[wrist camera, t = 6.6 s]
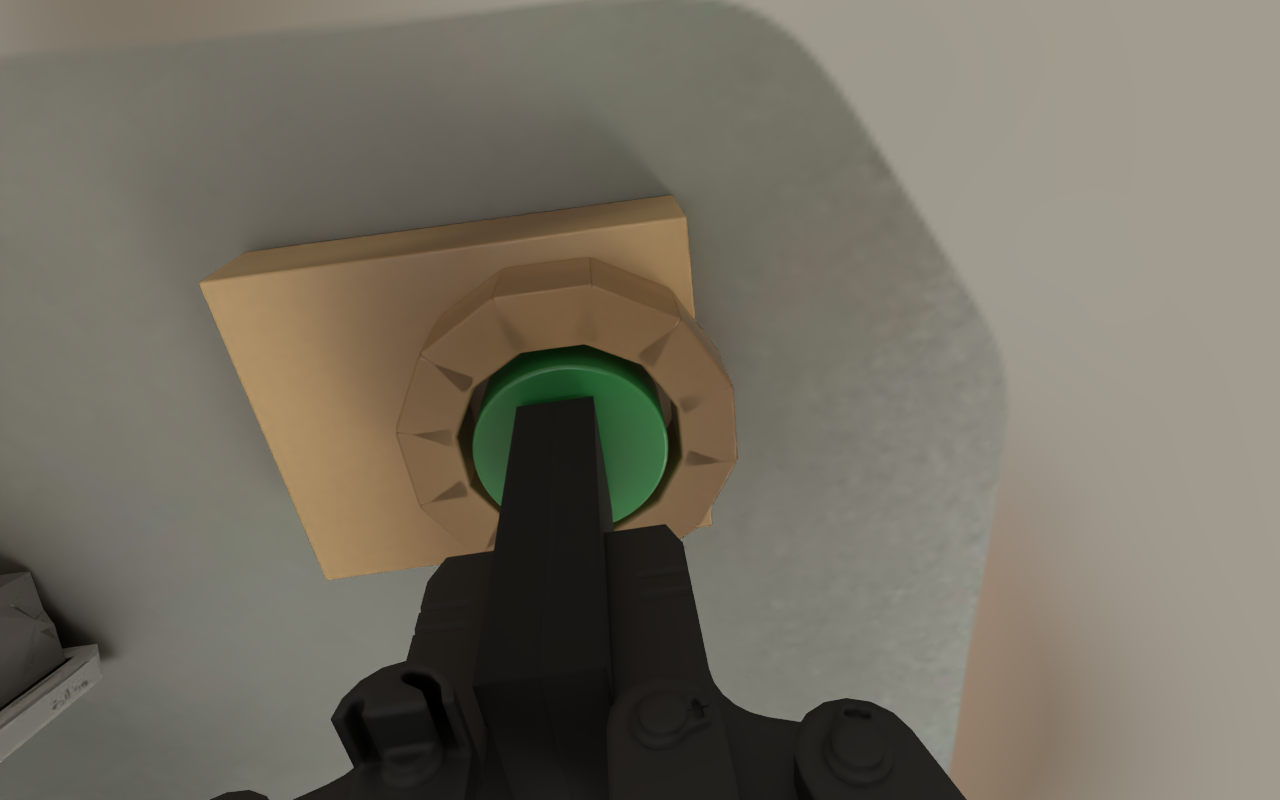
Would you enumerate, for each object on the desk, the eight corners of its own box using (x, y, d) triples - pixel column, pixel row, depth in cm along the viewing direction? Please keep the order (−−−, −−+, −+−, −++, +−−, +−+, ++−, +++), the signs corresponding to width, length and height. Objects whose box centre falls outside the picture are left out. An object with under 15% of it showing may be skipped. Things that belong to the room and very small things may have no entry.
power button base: (693, 191, 16) (725, 235, 13) (715, 476, 20) (744, 571, 16) (242, 252, 16) (148, 313, 13) (350, 527, 20) (300, 634, 16)
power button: (650, 319, 15) (658, 352, 13) (668, 474, 17) (677, 518, 15) (464, 344, 15) (450, 381, 13) (502, 497, 17) (494, 544, 15)
